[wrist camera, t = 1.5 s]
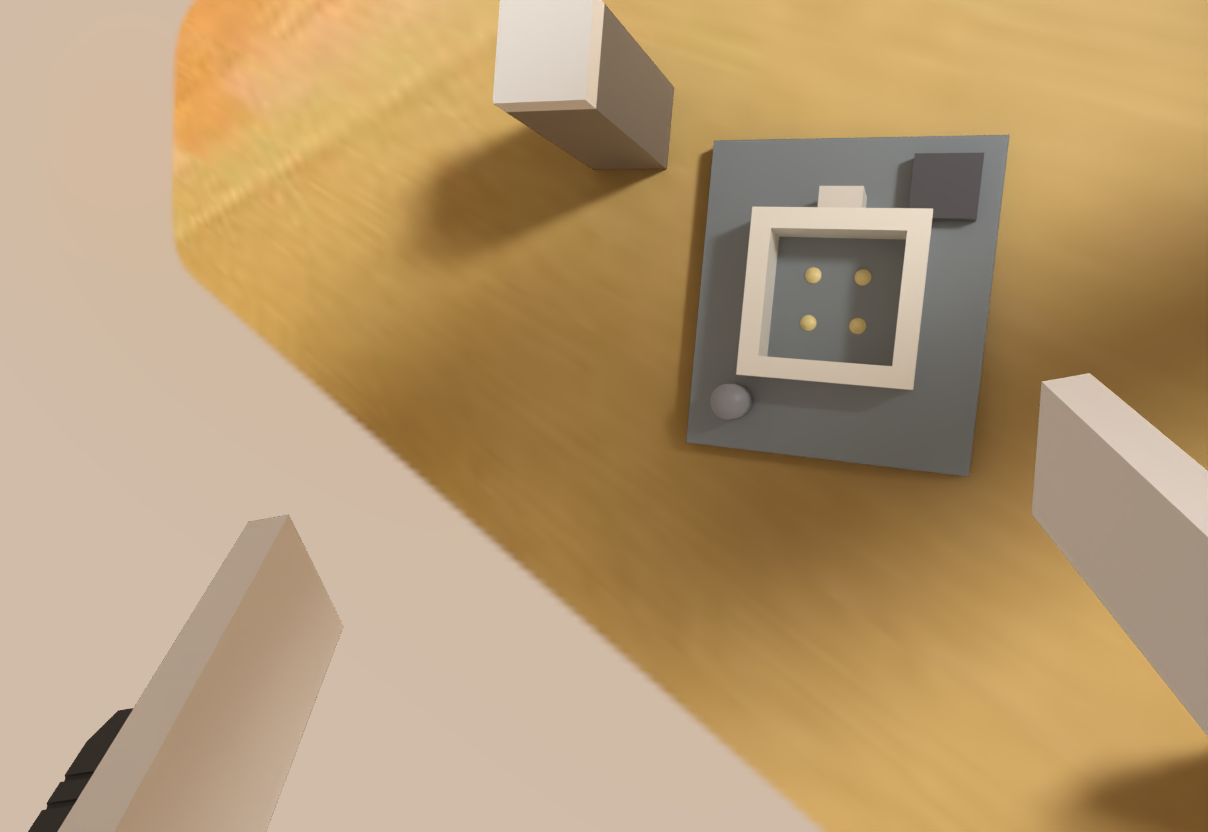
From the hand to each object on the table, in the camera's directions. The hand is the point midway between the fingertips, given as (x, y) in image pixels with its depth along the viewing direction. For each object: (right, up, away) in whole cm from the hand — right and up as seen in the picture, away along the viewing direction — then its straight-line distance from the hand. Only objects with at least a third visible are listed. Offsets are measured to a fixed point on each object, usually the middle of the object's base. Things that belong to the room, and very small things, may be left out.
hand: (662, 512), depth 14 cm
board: (+11, +8, +27) cm, 30 cm away
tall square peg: (+1, +18, +31) cm, 35 cm away
